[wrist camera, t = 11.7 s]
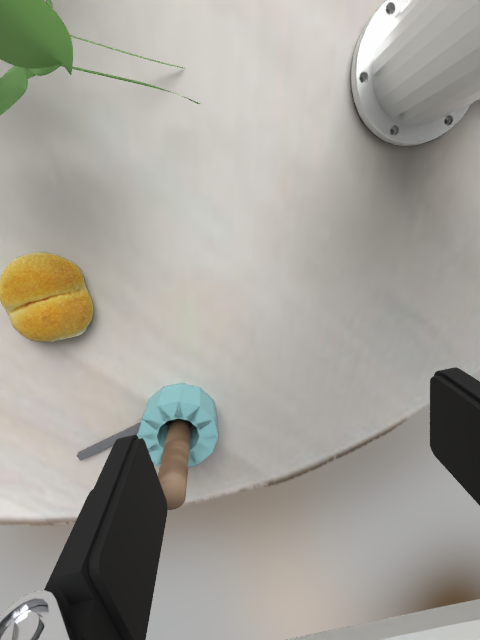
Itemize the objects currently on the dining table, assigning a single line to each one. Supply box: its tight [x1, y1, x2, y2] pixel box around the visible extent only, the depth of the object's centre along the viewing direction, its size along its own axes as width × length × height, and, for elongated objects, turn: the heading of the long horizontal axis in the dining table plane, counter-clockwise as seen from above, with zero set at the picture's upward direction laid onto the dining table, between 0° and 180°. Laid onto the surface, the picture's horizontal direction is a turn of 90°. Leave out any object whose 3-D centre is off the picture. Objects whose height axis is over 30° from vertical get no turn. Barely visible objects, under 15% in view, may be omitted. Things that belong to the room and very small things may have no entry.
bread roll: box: [0, 252, 93, 342], centre depth 30 cm, size 8×9×4 cm
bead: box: [137, 383, 218, 467], centre depth 36 cm, size 8×8×4 cm
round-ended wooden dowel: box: [158, 418, 192, 510], centre depth 32 cm, size 3×3×12 cm
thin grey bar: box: [77, 423, 141, 461], centre depth 37 cm, size 9×1×1 cm, turn 115°
